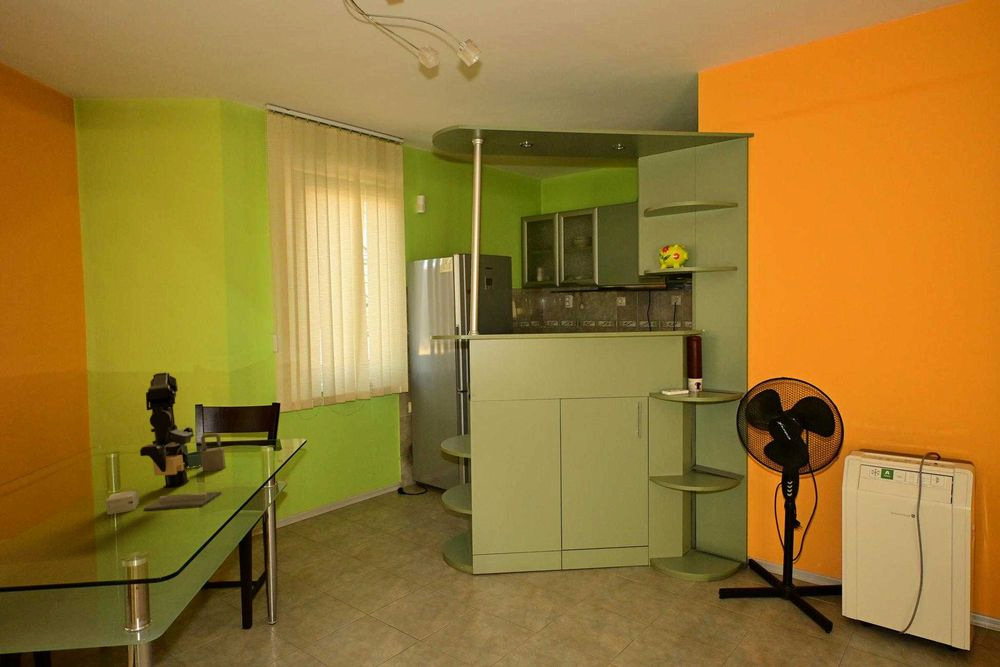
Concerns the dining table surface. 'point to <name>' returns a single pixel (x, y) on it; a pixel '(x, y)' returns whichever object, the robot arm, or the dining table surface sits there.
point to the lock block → (170, 466)
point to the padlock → (212, 455)
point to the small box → (122, 502)
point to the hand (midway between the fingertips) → (168, 469)
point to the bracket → (193, 456)
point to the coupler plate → (182, 500)
